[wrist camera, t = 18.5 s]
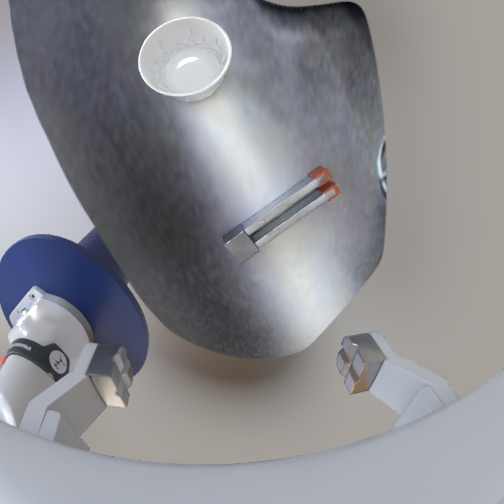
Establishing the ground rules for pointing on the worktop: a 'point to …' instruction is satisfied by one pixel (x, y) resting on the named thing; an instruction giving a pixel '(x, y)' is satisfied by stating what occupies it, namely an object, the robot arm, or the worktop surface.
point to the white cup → (186, 58)
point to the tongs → (248, 245)
